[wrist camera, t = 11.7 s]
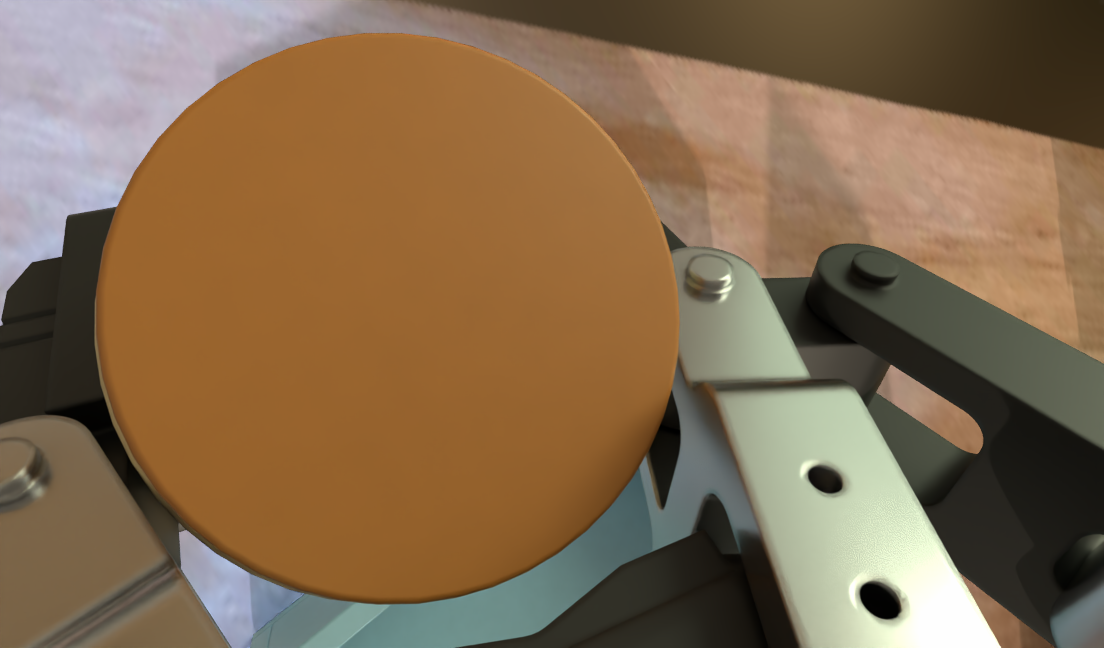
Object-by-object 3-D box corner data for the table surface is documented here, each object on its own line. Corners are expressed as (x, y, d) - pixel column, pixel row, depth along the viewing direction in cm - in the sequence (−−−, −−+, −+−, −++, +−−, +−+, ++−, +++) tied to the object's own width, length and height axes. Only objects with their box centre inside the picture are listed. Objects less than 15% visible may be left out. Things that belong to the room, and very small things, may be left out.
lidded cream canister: (393, 188, 14) (495, -89, 6) (531, 382, 14) (794, 375, 6) (166, 325, 12) (-124, 205, 4) (330, 539, 13) (349, 787, 5)
